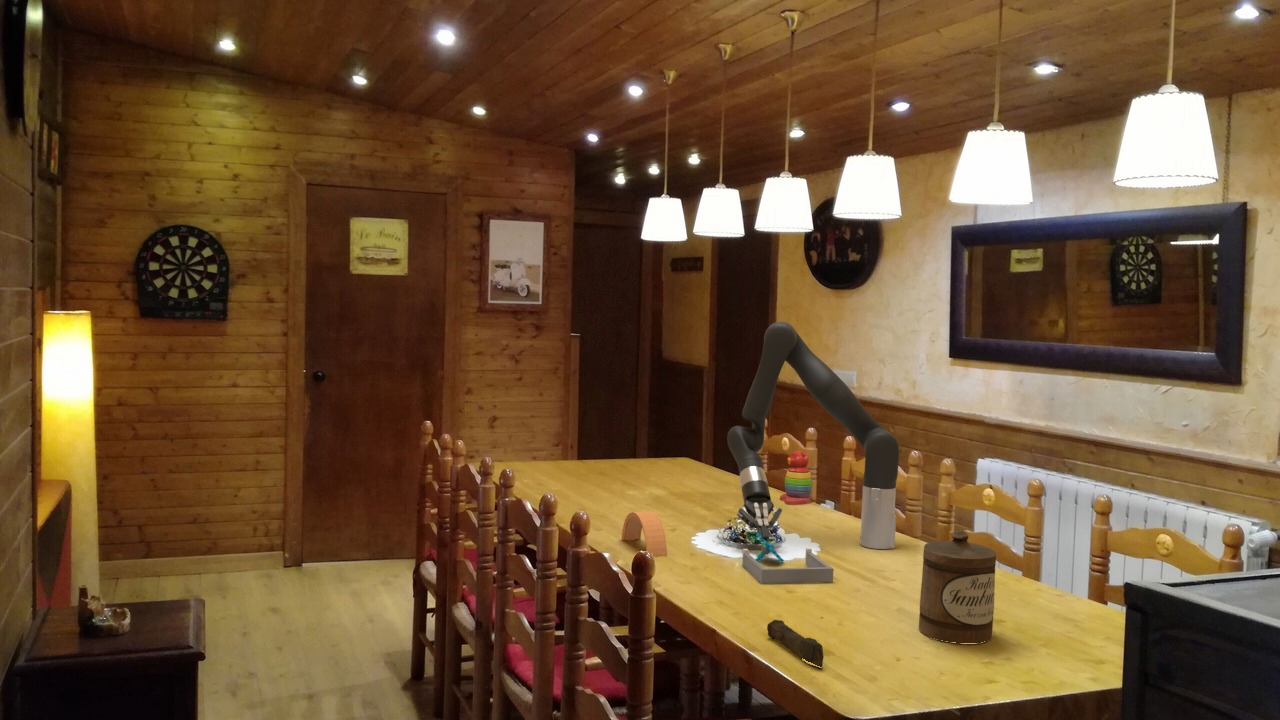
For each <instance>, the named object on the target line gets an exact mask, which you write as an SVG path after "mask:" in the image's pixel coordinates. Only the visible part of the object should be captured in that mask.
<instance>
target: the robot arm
mask: <svg viewBox="0 0 1280 720" xmlns="http://www.w3.org/2000/svg"><path fill="white" fill-rule="evenodd" d="M785 362H786V363H787V364H789V366H790V367H791V368H792V369H793V370H794V371H795V373H796V375H797V376H798V377H799V379H800V380H801V382H802V383H803V385H804V386H805V388H806V389H807V391H808V392H809V394H811V396H812V397H813V398H814V399H815V400H816V401H817V402H818V404H819V405H820V406H821V407H822V408H823V409H824V410H825V411H826V412H827V413H828V414H829V415H831V417H833V418H834V419H835V420H837V421H838V422H839V423H840V424H841V425H843V426H844V427H845V428H846V429H847V430H848V431H849V432H850V433H851V434H852V436H853V437H854V438H855V439H856V440H857V442H858V443H859V444H860V446H861V447H862V449H863V451H864V452H865V456H864V472H863V477H862V493H861V494H862V496H861V497H862V499H861V515H860V516H861V518H860V519H861V520H860V538H859V540H860V541H859V543H860V546H862V547H865V548H869V549H876V550H889V549H894V550H895V547H896V546H895V544H896V524H897V515H896V514H895V513H896V511H895V510H896V495H897V494H896V493H897V480H898V475H899V474H898V473H899V463H900V461H899V459H900V445H899V442H898V439H897V438H896V437H895V436H894V435H893V434H892V432H890V431H888V430H887V429H886V428H885V427H883V426H882V425H881V424H880V423H879V422H877V420H875V418H873V417H872V416H871V415H870V414H869V412H867V410H866V409H865V408H864V406H863V405H862V403H861V402H860V400H859V399H858V398H857V396H856V395H855V394H854V392H853V391H852V390H851V389H850V387H849V386H848V385H847V384H846V383H845V382H844V381H843V380H842V378H840V377H839V375H837V374H836V373H835V371H833V370H832V369H831V368H830V367H829V366H828V365H827V364H826V363H825V362H824V361H823V360H822V359H820V357H818V356H817V354H815V353H814V352H813V351H812V350H811V349H810V348H809V346H808V345H807V344H806V343H805V341H804V340H803V339H802V337H801V336H800V335H799V333H798V332H797V330H796V329H795V327H793V325H792V324H790V323H789V322H786V321H776V322H773V323H771V324H770V325H769V326H768V328H767V329H766V330H765V332H764V336H763V347H762V353H761V357H760V362H759V365H758V368H757V371H756V374H755V377H754V380H753V381H752V384H751V386H750V389H749V391H748V394H747V397H746V400H745V402H744V403H745V404H743V405H744V406H743V408H742V412H741V415H742V417H743V418H744V419H745V420H747V421H749V422H751V428H750V427H745V426H742V425H735V426H732V427H730V429H729V430H728V432H727V437H726V438H727V439H726V440H727V445H728V448H729V450H730V452H731V454H732V456H733V458H734V460H735V462H736V464H737V467H738V472H739V482H740V489H741V493H742V498H743V507H740V508H738V511H737V513H736V515H737V517H739V519H740V520H742V521H743V522H744V523H745V524H746V525H747V526H748V527H749V528H750V529H756V531H757V532H756V533H757V534H758V533H759V535H760V536H761V537H762V538H763V539H764V540H765V541H766V542H768V540H769V539H770V537H771V534H770V533H771V532H770V529H773V527H774V525H775V524H776V523H777V521H778V519H779V518H780V516H781V514H782V512H783V509H782V508H780V507H779V508H777V507H776V506H775V504H774V503H773V502H772V499H771V493H770V489H769V484H768V483H769V482H768V479H767V476H766V475H767V474H766V472H765V469H764V464H763V460H762V457H761V455H760V454H759V453H758V452H760V450H761V449H762V448H763V445H764V441H765V429H766V428H765V427H766V419H767V415H768V413H769V409H770V407H771V405H772V402H773V397H774V394H775V390H776V386H777V382H778V381H779V380H778V379H779V376H780V373H781V371H782V368H783V366H784V364H785ZM771 513H772V517H771V519H770V520H769V516H770V514H771Z"/></svg>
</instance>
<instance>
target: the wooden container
mask: <svg viewBox="0 0 1280 720" xmlns="http://www.w3.org/2000/svg"><path fill="white" fill-rule="evenodd" d="M951 538H952V540H935V541H929V542H927V543H925V544H924V545H923V552H922V553H923V554H922V555H923V557H922V559H923V560H922V575H921V586H920V595H919V596H920V597H919V615H918V616H919V617H918V630H919V631H920V633H921V634H923V635H924V634H925V636H926V635H927V636H926V637H928V636H929V638H930V637H932V638H931V639H933V638H935V639H934V640H936V639H938V640H937V641H939V640H943V641H948V642H956V643H981V642H984V641H988V640H989V641H991V640H992V638H993V629H994V628H993V627H994V625H993V624H994V614H995V611H994V610H995V589H996V588H995V587H996V586H995V584H996V563H997V562H996V561H997V553H996V552H997V551H995V550H994V549H992V548H990V547H988V546H985V545H981V544H976V543H973V542H969V541H968V540H969V534H968V533H967V532H966V531H964V530H959V529H957V530H955V531H953V532H952V533H951ZM990 639H991V640H990ZM943 641H942V642H943ZM989 641H988V642H989Z"/></svg>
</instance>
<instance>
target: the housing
mask: <svg viewBox="0 0 1280 720" xmlns="http://www.w3.org/2000/svg"><path fill="white" fill-rule="evenodd" d="M812 550H813V549H812V548H811V547H806V548H805V557H804V558H805V561H804V562H805V563H804V565H805V566H806V565H807V567H773V568H772V567H771V568H770V567H764V566H763V565H762V564H761V563H760V561H756V560H755V559H756V558H754V557H753V556H752V555H751V554H750V552H749V551H750V550H749V549H748V548H742V560H741V561H742V563H741V566H742V568H744V570H746V571H747V572H748V573H749V574H750V575H752V576H753V577H754V579H755V580H757V581H758V582H759V583H760V584H762V585H763V584H764V585H765V584H766V585H770V584H771V585H774V584H777V585H778V584H779V583H781V584H806V583H805V582H812V583H811V584H814V583H813V582H831V583H833V582H834V567H832V566H831V565H830V564H828V563H827V562H825V560H823V559H822V558H820V557H818V556H817V555H816V554H815V553H813V552H812Z"/></svg>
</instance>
